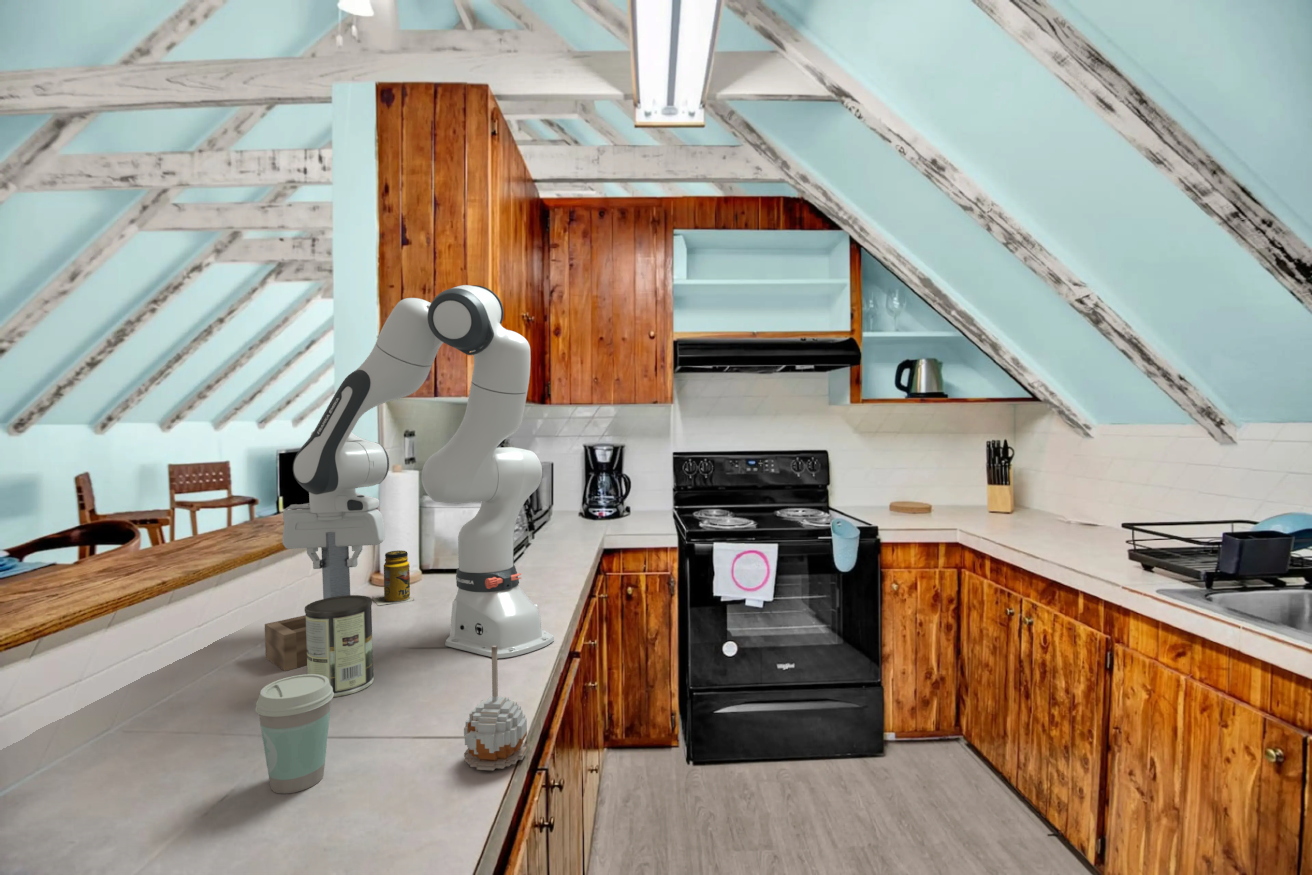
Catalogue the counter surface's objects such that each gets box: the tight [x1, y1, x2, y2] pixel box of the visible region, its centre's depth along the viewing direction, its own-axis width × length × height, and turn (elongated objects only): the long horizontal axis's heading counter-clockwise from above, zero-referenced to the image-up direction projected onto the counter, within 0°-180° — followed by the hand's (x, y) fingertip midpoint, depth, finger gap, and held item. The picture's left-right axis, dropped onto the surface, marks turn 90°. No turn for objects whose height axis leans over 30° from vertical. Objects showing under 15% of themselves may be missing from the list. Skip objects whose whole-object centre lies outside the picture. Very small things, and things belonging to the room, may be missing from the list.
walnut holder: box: [264, 614, 307, 672], centre depth 123 cm, size 10×10×6 cm
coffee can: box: [304, 594, 375, 698], centre depth 110 cm, size 10×10×14 cm
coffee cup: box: [254, 673, 334, 795], centre depth 81 cm, size 9×9×12 cm
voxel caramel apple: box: [463, 646, 528, 771], centre depth 86 cm, size 8×8×15 cm
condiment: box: [372, 550, 415, 606], centre depth 162 cm, size 7×8×12 cm
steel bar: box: [320, 532, 351, 599], centre depth 138 cm, size 4×4×15 cm
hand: (335, 567), depth 138 cm, fingers closed on steel bar, 6 cm apart
